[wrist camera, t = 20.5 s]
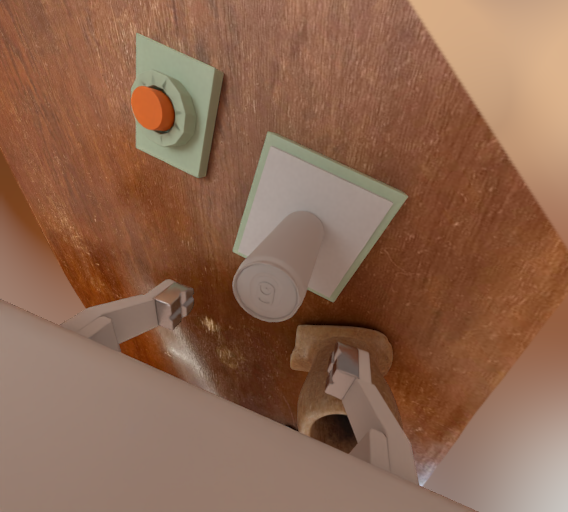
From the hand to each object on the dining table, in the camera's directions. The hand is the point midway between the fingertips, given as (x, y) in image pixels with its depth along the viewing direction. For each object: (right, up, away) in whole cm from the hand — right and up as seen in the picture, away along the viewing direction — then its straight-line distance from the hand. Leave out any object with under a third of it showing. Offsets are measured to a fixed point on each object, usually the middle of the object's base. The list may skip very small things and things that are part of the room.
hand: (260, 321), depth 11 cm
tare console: (-11, +20, +14) cm, 27 cm away
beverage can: (+3, +6, +13) cm, 15 cm away
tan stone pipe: (+10, -9, +22) cm, 26 cm away
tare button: (-12, +19, +11) cm, 25 cm away
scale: (+4, +8, +15) cm, 18 cm away
